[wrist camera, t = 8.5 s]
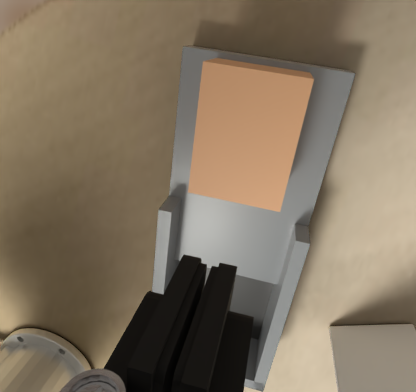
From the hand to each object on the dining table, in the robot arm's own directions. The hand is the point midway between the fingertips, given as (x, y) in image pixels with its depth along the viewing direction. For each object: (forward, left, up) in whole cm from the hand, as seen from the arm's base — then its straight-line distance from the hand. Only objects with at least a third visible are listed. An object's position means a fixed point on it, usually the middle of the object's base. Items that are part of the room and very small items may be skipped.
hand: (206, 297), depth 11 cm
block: (0, +2, -15) cm, 15 cm away
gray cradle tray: (0, -7, -18) cm, 19 cm away
